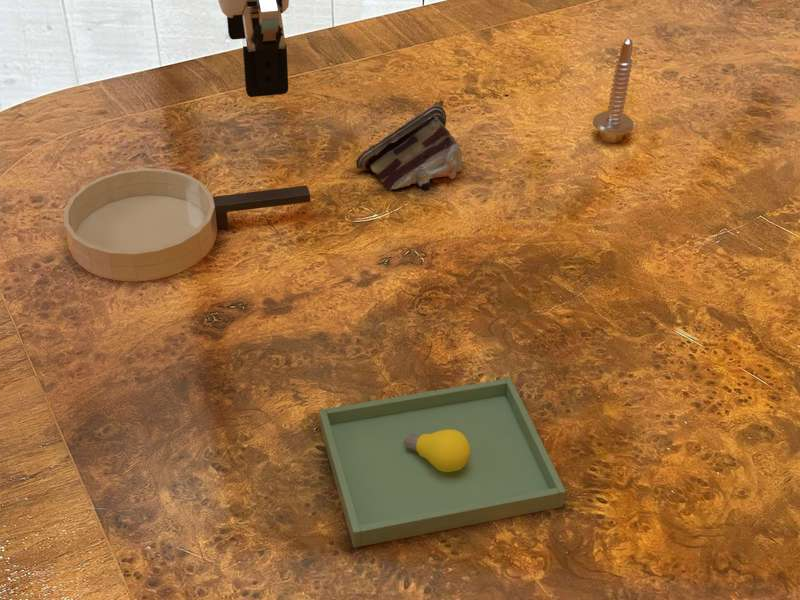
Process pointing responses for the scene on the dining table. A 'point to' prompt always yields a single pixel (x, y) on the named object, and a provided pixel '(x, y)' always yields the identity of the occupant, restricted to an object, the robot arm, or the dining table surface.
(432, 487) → the tray
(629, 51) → the screw
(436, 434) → the light bulb
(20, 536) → the dining table surface
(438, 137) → the striped layered wedge
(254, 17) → the robot arm
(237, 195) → the pan handle
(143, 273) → the pan
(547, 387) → the dining table surface
